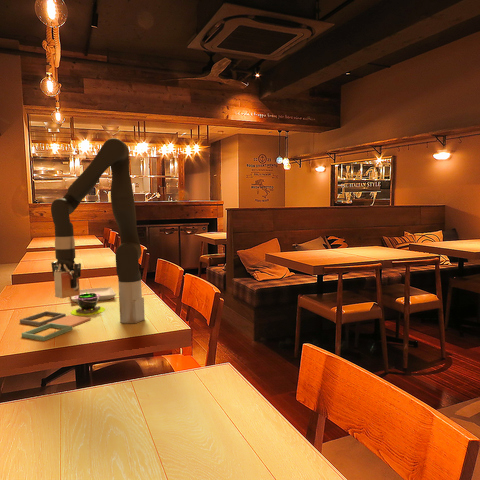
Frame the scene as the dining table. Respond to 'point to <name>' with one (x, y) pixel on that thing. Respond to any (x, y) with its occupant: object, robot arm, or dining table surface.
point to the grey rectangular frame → (27, 319)
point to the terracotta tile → (70, 320)
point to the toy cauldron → (87, 305)
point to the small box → (65, 285)
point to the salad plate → (104, 292)
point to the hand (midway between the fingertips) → (67, 287)
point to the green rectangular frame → (63, 329)
